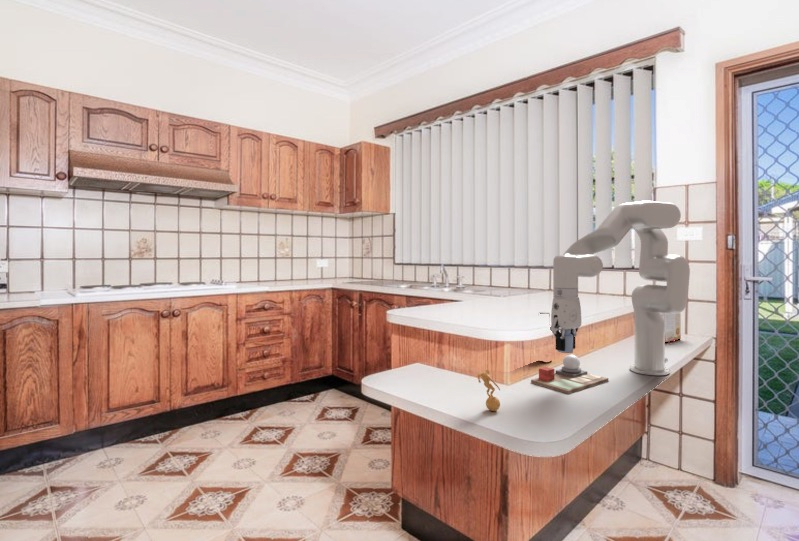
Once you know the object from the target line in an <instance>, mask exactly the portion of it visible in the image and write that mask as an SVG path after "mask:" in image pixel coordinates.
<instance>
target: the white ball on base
mask: <svg viewBox="0 0 799 541" xmlns="http://www.w3.org/2000/svg"><path fill="white" fill-rule="evenodd" d="M580 362H581V361H580V359H579V357H578V356H576V355H575V354H573V353H569V354H568V355H565V356H564V357H563V359H562V364H563V365H562V366H561V369H562V371H564V372H569V373H579V372H581V370H582V367H580V365H581V363H580Z"/></svg>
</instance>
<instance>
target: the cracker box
mask: <svg viewBox="0 0 799 541" xmlns="http://www.w3.org/2000/svg"><path fill="white" fill-rule="evenodd" d="M660 314H661V316H662V318H663V320H664V323H665V342H669V343H671V342H670V341H673V342H675V341H674V340H678V339H681V340H682V337H681V336H682V335H681V333H682V331H681V330H682V328H681V327H682V326H681V324H682V322H681V321H682V320H681V319H682V318H681V317H682V312H681V313H678V314H670V313H662V312H660ZM678 341H679V340H678Z"/></svg>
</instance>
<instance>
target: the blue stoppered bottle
mask: <svg viewBox="0 0 799 541" xmlns="http://www.w3.org/2000/svg"><path fill="white" fill-rule="evenodd" d="M561 329H562V328H561ZM559 332H560V333H561V330H559ZM570 333H571V329H569V330H565V333H564V338H563V339H565V351H560V350H557V352H558V353H563V354H573V353H574V349H573V335H572V334H570Z"/></svg>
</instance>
